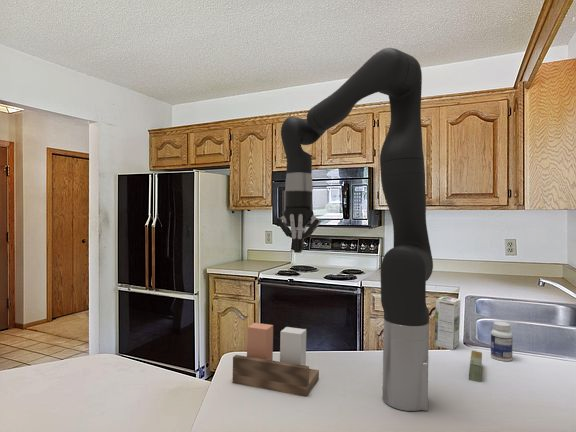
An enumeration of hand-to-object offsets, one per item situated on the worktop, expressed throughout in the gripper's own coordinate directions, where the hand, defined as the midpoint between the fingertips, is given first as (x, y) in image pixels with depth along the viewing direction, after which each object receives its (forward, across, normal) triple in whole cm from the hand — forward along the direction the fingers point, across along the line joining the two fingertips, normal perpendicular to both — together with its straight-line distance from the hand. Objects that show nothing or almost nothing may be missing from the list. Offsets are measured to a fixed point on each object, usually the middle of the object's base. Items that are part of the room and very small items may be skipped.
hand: (298, 252), depth 108 cm
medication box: (+30, +46, +7) cm, 55 cm away
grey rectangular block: (+27, +5, -17) cm, 32 cm away
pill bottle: (+29, +54, +21) cm, 65 cm away
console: (+29, +1, -17) cm, 34 cm away
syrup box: (+29, +40, +26) cm, 56 cm away
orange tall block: (+26, -4, -17) cm, 32 cm away
